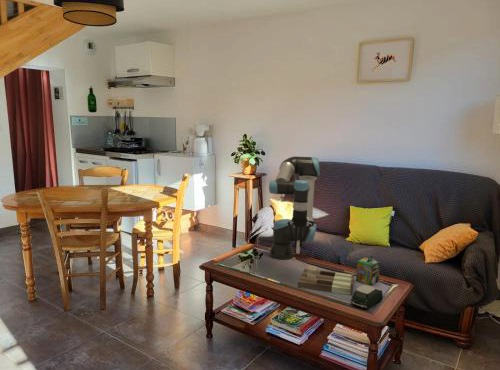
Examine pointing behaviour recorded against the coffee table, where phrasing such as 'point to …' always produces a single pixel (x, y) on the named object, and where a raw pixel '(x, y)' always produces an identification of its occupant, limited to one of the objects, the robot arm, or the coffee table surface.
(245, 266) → the coffee table surface
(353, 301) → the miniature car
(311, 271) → the birch block
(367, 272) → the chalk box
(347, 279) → the brown striped flat block
